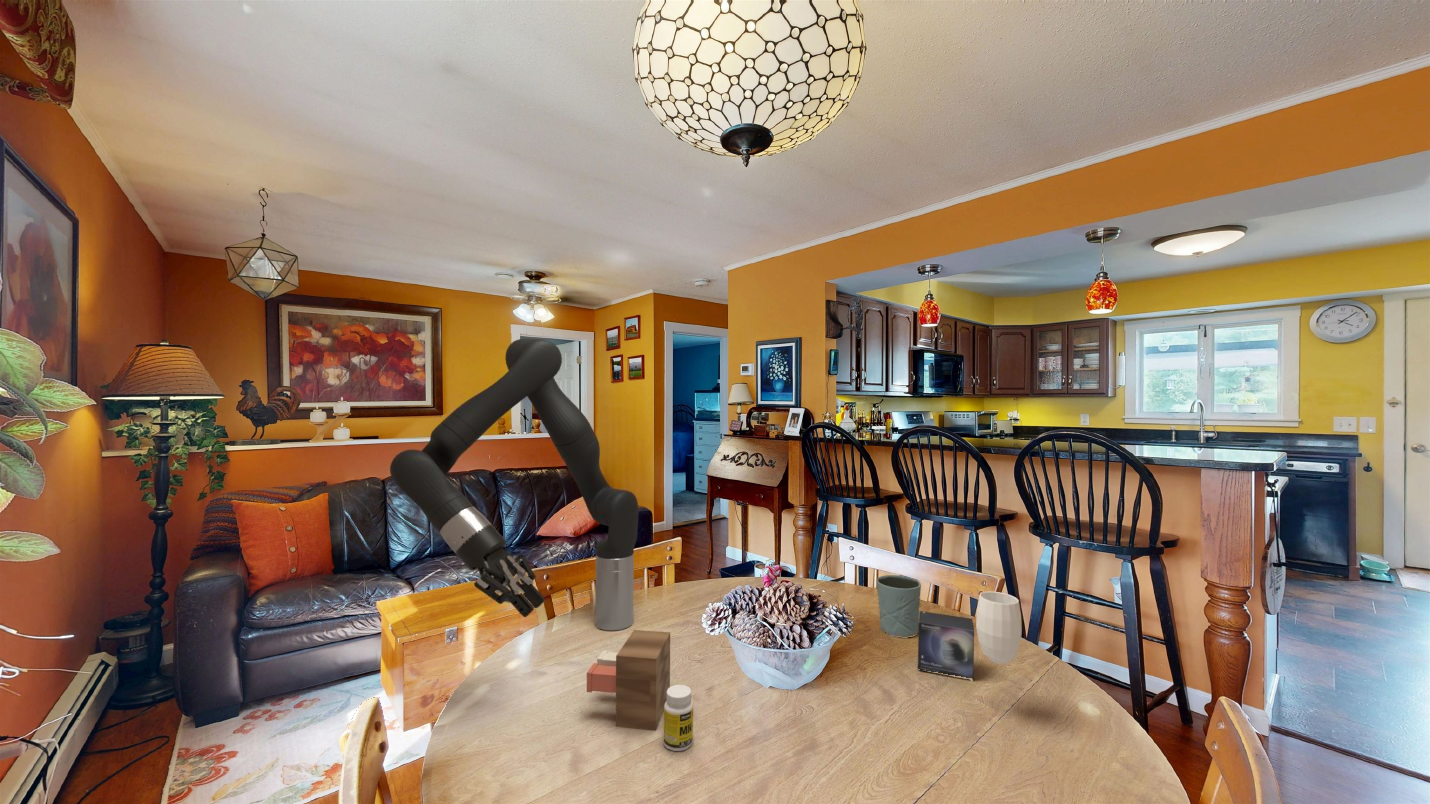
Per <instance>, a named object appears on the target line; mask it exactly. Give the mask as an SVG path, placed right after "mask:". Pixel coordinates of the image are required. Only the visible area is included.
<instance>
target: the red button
mask: <svg viewBox="0 0 1430 804" xmlns="http://www.w3.org/2000/svg"><path fill="white" fill-rule="evenodd" d="M592 692H603V693H612V694H613V693H614V694H616V667H615V666H603V665H598V663H597V662H594V663H593V664H592V665H591V666H590V667H589V669H588V670H587V672H586V693H592Z"/></svg>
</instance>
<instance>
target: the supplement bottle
mask: <svg viewBox="0 0 1430 804" xmlns="http://www.w3.org/2000/svg"><path fill="white" fill-rule="evenodd" d="M666 699H667V701H666V702H665V705H664V712H663V745H664V747H666V748H667V749H668V750H669V751H673V752H682V751H685V750H687V749H689V748H690V747H691V746H692V744H693V740H694V735H693V734H694V703H693V701H692V689H691V688H690V687H689V686H687V685H684V684H675V685H670V688H668V690H667V697H666Z"/></svg>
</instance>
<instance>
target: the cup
mask: <svg viewBox="0 0 1430 804" xmlns="http://www.w3.org/2000/svg"><path fill="white" fill-rule="evenodd" d="M978 596H979V597H978V602H977V607H976V619H975V621H976V622H975V623H976V624H975V626H976V627H975V628H976V634H977V640H978V644H979V647H980V650H981V652H982V653H983V654H984V655H985V656H986V657H987V658H988V660H990V661H991V662H992V663H995V664H998V665H1006V664H1007V663H1009V662H1010V661H1014V660H1015V659H1016V656H1017V654H1018V652H1019V649H1020V646H1021V645H1020V644H1021V639H1022V634H1023V633H1022V631H1023V630H1022V629H1023V628H1022V613H1021V606H1020V600H1019V599H1018V598H1017V597H1015V596H1013V595H1011V594H1008V593H1004V592H998V591H983V592H980V593H979V595H978Z"/></svg>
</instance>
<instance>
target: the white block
mask: <svg viewBox="0 0 1430 804" xmlns="http://www.w3.org/2000/svg"><path fill="white" fill-rule="evenodd" d="M617 654H618V652H613V651H612V652H611V651H609V650H606V649H605V650H603V651H602V652H601V653H600V654H599V656H598V657H597V658H596V663H598V665H603V666H615V667H616V655H617Z"/></svg>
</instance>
